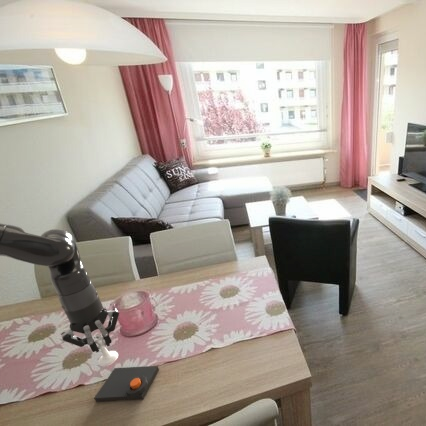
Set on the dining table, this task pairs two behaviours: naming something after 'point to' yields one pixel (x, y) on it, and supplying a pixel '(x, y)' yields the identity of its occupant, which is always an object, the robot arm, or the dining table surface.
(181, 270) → the dining table surface
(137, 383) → the button
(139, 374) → the dark grey flat block
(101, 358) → the chess piece
